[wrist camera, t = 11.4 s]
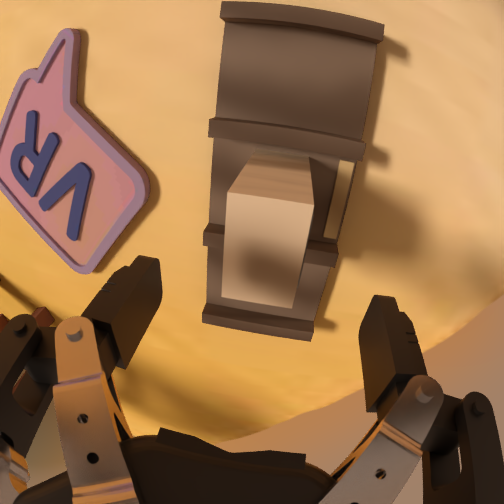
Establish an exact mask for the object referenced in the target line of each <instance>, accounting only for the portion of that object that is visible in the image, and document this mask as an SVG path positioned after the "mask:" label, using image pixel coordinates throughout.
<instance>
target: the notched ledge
mask: <svg viewBox="0 0 504 504" xmlns="http://www.w3.org/2000/svg"><path fill="white" fill-rule="evenodd" d="M220 18H221V19H222V20H224V21H225V28H224V36H223V45H222V54H221V63H220V73H219V83H218V93H217V105H216V116H215V117H214V118H212V119H209V131H208V137H212V138H214V142H213V156H212V172H211V189H210V208H209V223H208V225H207V227H206V228H205V230H204V231H203V246H208V258H207V299H206V305H205V307H204V310H203V312H202V323H206V324H211V325H216V326H221V327H226V328H231V329H237V330H242V331H248V332H253V333H259V334H265V335H271V336H277V337H283V338H289V339H296V340H303V341H310V342H311V339H312V336H313V333H314V318H315V315H316V312H317V309H318V306H319V303H320V300H321V296H322V293H323V290H324V287H325V283H326V280H327V277H328V273H329V270H330V267H333V268H335V265H336V261H337V258H338V248H337V241H338V238H339V234H340V230H341V226H342V222H343V219H344V215H345V211H346V207H347V203H348V198H349V194H350V190H351V186H352V181H353V177H354V173H355V168H356V164H357V160H358V161H362V160H363V155H364V151H365V146H366V143H365V142H363V141H362V135H363V129H364V124H365V119H366V113H367V108H368V102H369V96H370V90H371V83H372V77H373V70H374V63H375V56H376V48H377V44H378V43H380V42H382V41H383V34H384V24H381V23H377V22H374V21H370V20H366V19H362V18H358V17H354V16H350V15H345V14H341V13H336V12H331V11H325V10H320V9H314V8H307V7H300V6H292V5H284V4H273V3H260V2H237V1H222V4H221V11H220ZM256 149H262V150H270V151H277V152H284V153H291V154H297V155H303V156H309V163H310V172H311V180H312V189H313V199H314V209H313V214H314V217H313V222H312V227H311V232H310V237H309V241H308V246H307V251H306V255H305V260H304V264H303V269H302V273H301V278H300V282H299V286H298V288H297V289H296V293H295V297H294V302H293V306H292V309H291V308H285V307H278V306H272V305H266V304H260V303H254V302H248V301H242V300H236V299H231V298H225V297H221V295H222V274H223V255H224V237H225V220H226V204H227V192H228V190H229V189H230V187H231V186H232V184H233V183H234V181H235V180H236V178H237V177H238V175H239V174H240V172H241V171H242V169H243V168H244V166H245V165H246V163H247V162H248V160H249V159H250V157H251V156H252V154H253V153H254V151H255V150H256Z"/></svg>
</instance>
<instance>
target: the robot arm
mask: <svg viewBox="0 0 504 504" xmlns="http://www.w3.org/2000/svg"><path fill="white" fill-rule="evenodd" d="M162 293H163V291H162V281H161V270H160V262H159V259H157V258H152V257H147V256H141V255H139V256H137V258H136V259H135V260H134V261H133V263H132V264H131V265H130V266H124V267H122V268H121V269H119V270H117V271H116V272H114V273H113V275H112V276H111V277H110V278H109V280H108V281H107V283H105V285H104V286H103V287H102V288H101V290H100V291H99V292H98V294H97V295H96V296H95V297H94V299H93V300H92V301H91V303H90V304H89V305H88V307H87V308H86V309H85V311H84V312H83V313H82V315H81V316H75V317H70V318H68V319H65V320H64V321H62V322H61V323H60V324H59V325H58V327H42V326H38V324H37V322H36V319H35V318H34V317H33V316H31V315H29V314H21V315H18V316H16V317H14V318H12V319H11V320H10V321H9V322H8V323H7V325H6V326H5V327H4V329H3V330H2V331H1V333H0V504H392V503H393V502H394V500H395V499H396V497H397V496H398V494H399V493H400V491H401V490H402V488H403V487H404V485H405V484H406V482H407V480H408V479H409V477H410V476H411V474H412V472H413V471H414V469H415V467H416V465H417V464H418V462H419V460H420V458H421V456H422V468H423V504H504V462H503V456H502V450H501V445H500V440H499V434H498V430H497V425H496V421H495V416H494V413H493V408H492V405H491V403H490V401H489V400H488V398H487V397H486V396H485V395H483V394H481V393H479V392H470V393H469V394H467V395H466V396H465V398H463V399H458V398H455V397H452V396H449V395H446V394H444V393H443V390H442V388H441V386H440V384H439V383H438V382H437V381H436V380H435V379H433V378H431V377H429V376H428V374H427V371H426V367H425V363H424V359H423V356H422V352H421V349H420V346H419V344H418V339H417V336H416V335H415V334H416V333H415V329H414V326H413V323H412V321H411V320H410V319H409V317H408V316H407V315H406V314H405V312H399V309H398V305H397V302H396V299H395V298H394V297H390V296H382V295H374V296H373V298H372V300H371V302H370V305H369V307H368V309H367V312H366V314H365V316H364V318H363V321H362V323H361V326H360V329H359V346H360V354H361V362H362V371H363V380H364V390H365V400H366V411H367V412H377V416H378V419H377V420H376V421H375V422H374V424H373V425H372V427H371V428H370V429H369V431H368V432H367V433H366V434H365V436H364V437H363V438H362V440H361V441H360V442H359V443H358V445H357V446H356V447H355V448H354V450H353V451H352V452H351V453H350V454H349V456H348V457H347V458H346V459H345V460H344V461H343V462H342V463H341V464H340V465H339V467H337V468H336V469H335V470H334V472H333V473H332V474H331V475H329V474H327V473H326V472H325V471H323V470H322V469H320V468H318V467H316V466H314V465H312V464H309V463H306V462H305V460H306V454H301V453H290V452H280V451H272V450H268V451H256V452H241V453H231V452H227V451H224V450H222V449H220V448H218V447H216V446H214V445H211V444H209V443H207V442H205V441H203V440H201V439H199V438H197V437H195V436H191V435H187V434H183V433H179V432H175V431H172V430H168V429H165V428H161V427H160V430H159V433H158V435H144V436H137V437H133V436H132V433H131V431H130V428H129V426H128V424H127V422H126V419H125V416H124V413H123V410H122V407H121V403H120V400H119V397H118V393H117V390H116V386H115V382H114V379H113V375H112V372H113V370H114V368H115V366H117V367H120V368H123V369H126V368H127V366H128V364H129V362H130V360H131V358H132V357H133V355H134V353H135V351H136V349H137V347H138V345H139V343H140V341H141V339H142V337H143V336H144V334H145V332H146V330H147V328H148V326H149V324H150V322H151V321H152V319H153V317H154V315H155V313H156V311H157V310H158V308H159V306H160V303H161V300H162ZM24 368H25V369H26V372H25V374H24V376H23V377H22V379H21V381H20V383H19V384H18V386H17V388H16V390H15V391H14V393H12V391H13V386H14V384H15V383H16V381H17V379H18V377H19V376H20V374H21V372H22V371H23V369H24ZM53 397H54V404H55V412H56V418H57V424H58V430H59V435H60V441H61V445H62V450H63V455H64V459H65V463H66V467H67V471H65V472H63V473H61V474H59V475H57V476H55V477H53V478H50V479H48V480H46V481H44V482H42V483H40V484H37V485H35V486H33V487H30V488H28V489H27V484H26V483H27V482H28V481H29V480H30V474H29V472H28V466H27V463H26V460H25V458H26V455H27V453H28V451H29V448H30V446H31V444H32V441H33V439H34V437H35V434H36V432H37V430H38V428H39V426H40V423H41V421H42V419H43V417H44V415H45V413H46V410H47V409H48V407H49V405H50V403H51V401H52V398H53ZM458 447H460V454H461V464H462V470H461V474H460V464H459V455H458Z"/></svg>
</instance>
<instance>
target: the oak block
mask: <svg viewBox="0 0 504 504" xmlns="http://www.w3.org/2000/svg"><path fill="white" fill-rule="evenodd" d="M313 209H314V199H313V189H312V180H311V172H310V163H309V156H303V155H297V154H291V153H284V152H277V151H270V150H262V149H256V150H255V151H254V153H253V154H252V156H251V157H250V159H249V160H248V162H247V163H246V165H245V166H244V168H243V169H242V171H241V172H240V174H239V175H238V177H237V178H236V180H235V181H234V183H233V184H232V186H231V187H230V189H229V190H228V192H227V204H226V220H225V237H224V255H223V274H222V295H221V297H225V298H231V299H236V300H242V301H248V302H254V303H260V304H266V305H272V306H278V307H285V308H291V309H292V306H293V302H294V297H295V293H296V289H297V288H298V286H299V282H300V278H301V273H302V269H303V264H304V260H305V255H306V251H307V246H308V241H309V237H310V232H311V227H312V222H313V217H314V214H313Z"/></svg>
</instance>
